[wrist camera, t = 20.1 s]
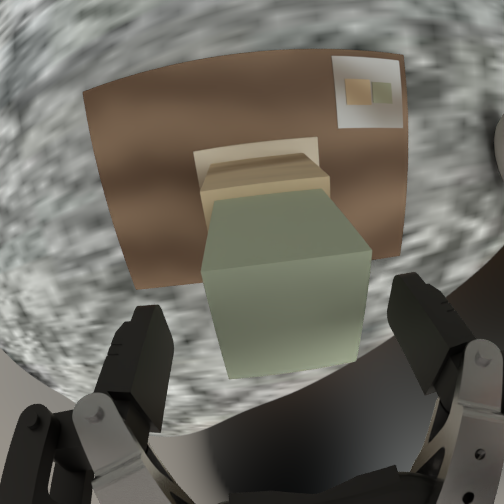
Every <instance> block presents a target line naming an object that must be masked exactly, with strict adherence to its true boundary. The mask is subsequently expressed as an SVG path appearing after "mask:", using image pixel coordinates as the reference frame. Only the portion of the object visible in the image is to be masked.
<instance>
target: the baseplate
mask: <svg viewBox="0 0 504 504" xmlns="http://www.w3.org/2000/svg"><path fill="white" fill-rule="evenodd" d="M83 98H84V104H85V110H86V115H87V121H88V126H89V131H90V136H91V141H92V145H93V150H94V154H95V158H96V163H97V167H98V171H99V175H100V179H101V183H102V186H103V190H104V194H105V197H106V201H107V204H108V208H109V211H110V215H111V218H112V221H113V224H114V228H115V231H116V234H117V237H118V240H119V243H120V246H121V249H122V252H123V255H124V258H125V261H126V263H127V266H128V269H129V272H130V275H131V277H132V280H133V283H134V285H135V288H136V290H138V289H148V288H158V287H167V286H176V285H185V284H194V283H203V279H202V275H201V267H202V262H203V256H204V251H205V245H206V240H207V235H208V231H207V226H206V221H205V216H204V211H203V206H202V200H201V195H200V190H201V188H202V185H203V182H204V180H205V177H206V175H207V172H208V170H209V167H210V164H214V163H221V162H228V161H235V160H242V159H250V158H258V157H267V156H276V155H286V154H296V153H304V154H305V155H306V156H307V157H309V158H310V159H311V160H312V161H313V162H314V163H315V164H317V165H318V166H319V167H320V168H321V169H322V170H323V171H324V172H326V173H327V174H328V175H329V176H330V199H331V200H332V201H333V202H334V203H335V205H336V206H337V207H338V208H339V209H340V211H341V212H342V213H343V214H344V215H345V217H346V218H347V219H348V220H349V222H350V223H351V224H352V225H353V226H354V228H355V229H356V230H357V231H358V233H359V234H360V235H361V236H362V238H363V239H364V240H365V242H366V243H367V244H368V245H369V247H370V248H371V249H372V258H371V260H375V259H381V258H388V257H394V256H400V251H401V244H402V235H403V226H404V216H405V205H406V191H407V172H408V108H407V89H406V76H405V65H404V56H403V55H400V54H392V53H384V52H374V51H361V50H344V49H289V50H271V51H258V52H248V53H239V54H231V55H224V56H217V57H211V58H205V59H199V60H194V61H189V62H184V63H179V64H174V65H170V66H165V67H161V68H157V69H153V70H149V71H146V72H142V73H138V74H135V75H131V76H128V77H125V78H121V79H118V80H115V81H112V82H109V83H106V84H103V85H100V86H97V87H95V88H92V89H89V90H86V91H84V92H83Z"/></svg>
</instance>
